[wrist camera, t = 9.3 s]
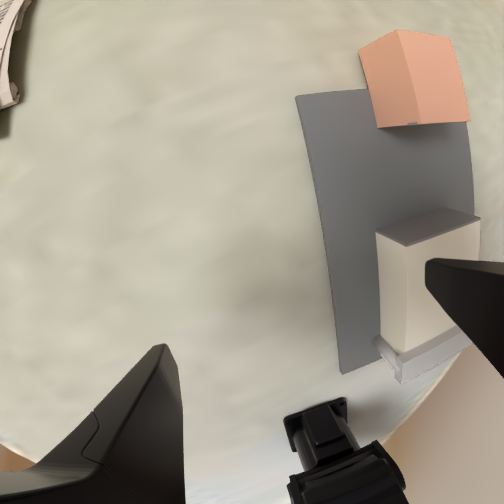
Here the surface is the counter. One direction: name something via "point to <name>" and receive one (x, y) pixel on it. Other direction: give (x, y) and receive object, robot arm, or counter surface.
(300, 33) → the counter surface
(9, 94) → the newspaper
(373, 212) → the grey flat tray
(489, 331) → the robot arm
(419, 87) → the stub
